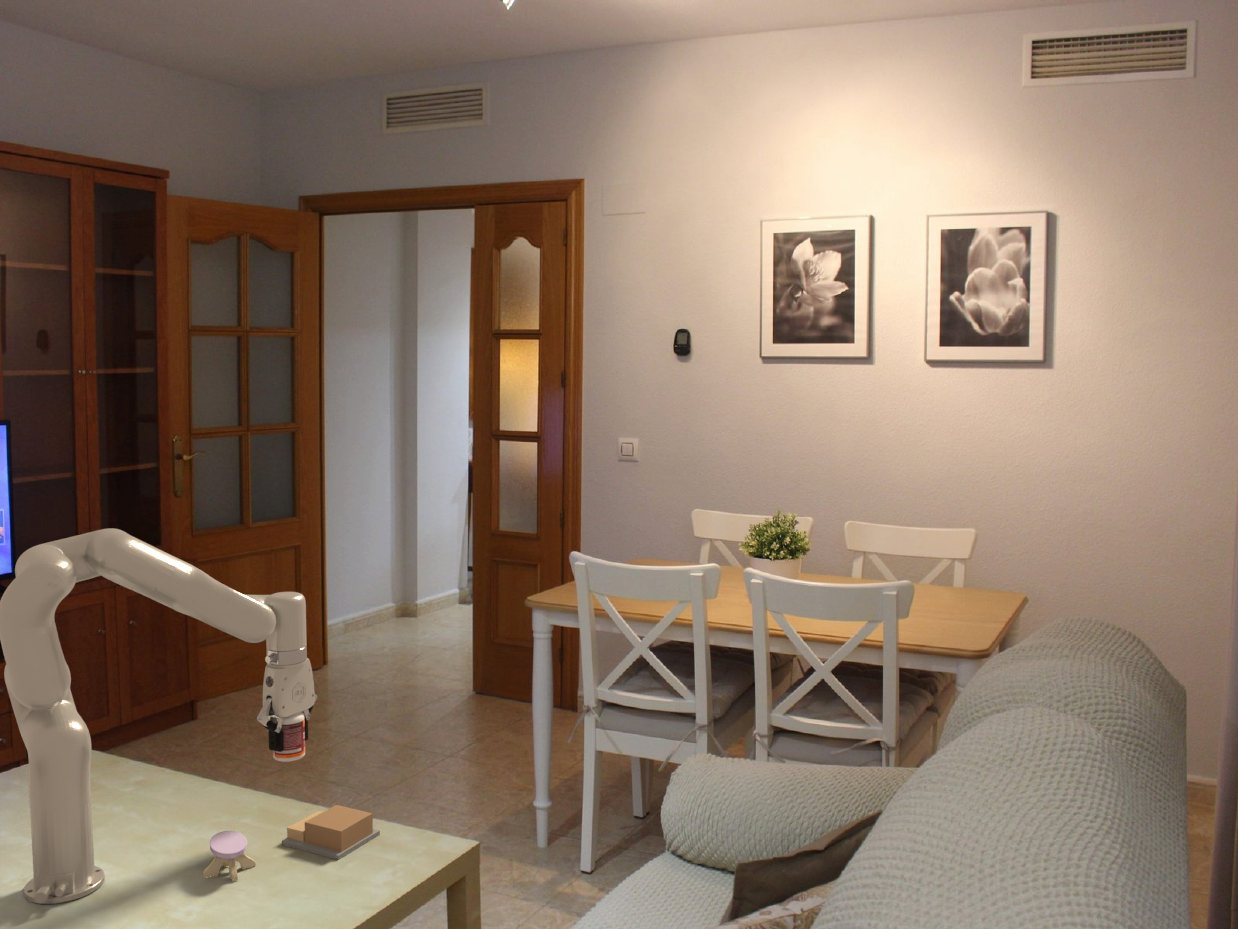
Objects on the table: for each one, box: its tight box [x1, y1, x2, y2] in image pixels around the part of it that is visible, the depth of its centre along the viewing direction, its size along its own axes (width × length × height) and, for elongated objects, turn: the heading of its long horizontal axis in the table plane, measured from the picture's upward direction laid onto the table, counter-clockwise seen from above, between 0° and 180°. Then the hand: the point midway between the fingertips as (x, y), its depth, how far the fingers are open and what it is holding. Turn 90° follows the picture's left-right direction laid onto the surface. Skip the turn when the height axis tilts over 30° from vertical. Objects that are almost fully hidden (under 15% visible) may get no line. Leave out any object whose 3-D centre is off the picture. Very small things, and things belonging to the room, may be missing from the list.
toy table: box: [202, 830, 257, 883], centre depth 193 cm, size 10×9×6 cm
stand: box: [281, 804, 381, 860], centre depth 206 cm, size 14×12×5 cm
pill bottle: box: [272, 712, 306, 763], centre depth 209 cm, size 6×6×11 cm
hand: (288, 744), depth 209 cm, fingers closed on pill bottle, 6 cm apart
